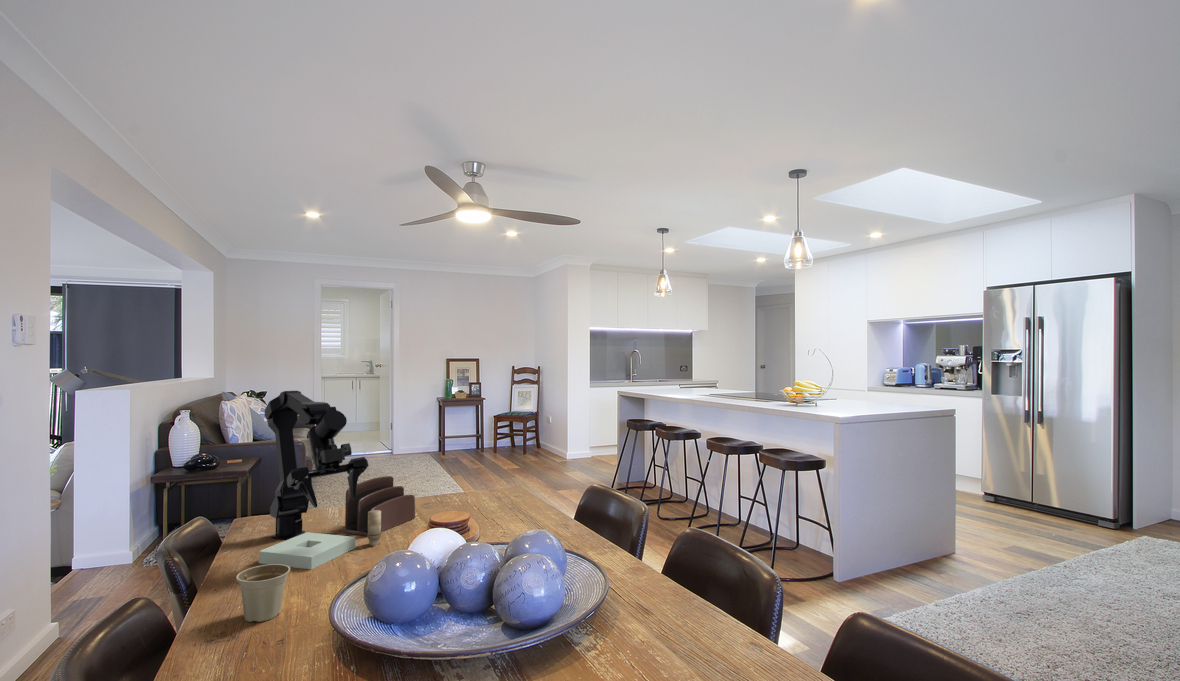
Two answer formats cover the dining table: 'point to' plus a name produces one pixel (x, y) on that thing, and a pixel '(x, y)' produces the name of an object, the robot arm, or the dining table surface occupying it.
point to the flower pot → (262, 591)
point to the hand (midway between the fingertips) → (335, 503)
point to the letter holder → (378, 505)
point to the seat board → (307, 550)
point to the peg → (374, 527)
